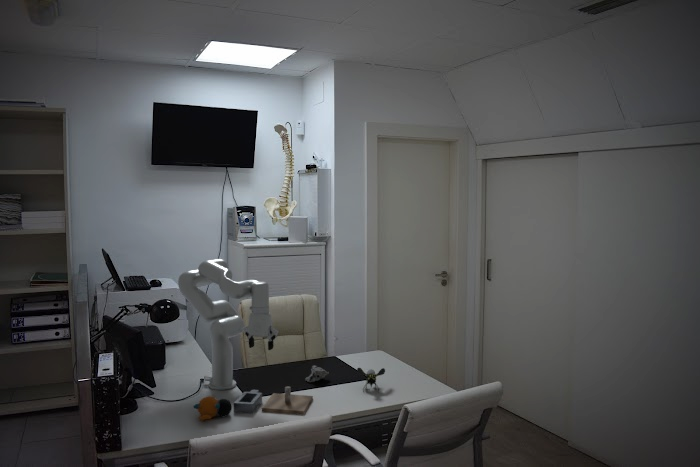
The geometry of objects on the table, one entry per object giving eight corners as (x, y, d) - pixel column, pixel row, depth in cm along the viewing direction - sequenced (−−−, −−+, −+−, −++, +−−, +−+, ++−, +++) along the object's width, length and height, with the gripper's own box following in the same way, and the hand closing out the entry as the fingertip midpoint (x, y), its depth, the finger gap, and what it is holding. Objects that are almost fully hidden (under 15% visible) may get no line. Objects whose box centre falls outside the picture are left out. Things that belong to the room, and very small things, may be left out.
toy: (193, 397, 235) (230, 398, 239) (191, 421, 231) (228, 422, 236) (196, 394, 224) (234, 395, 229) (194, 420, 221) (232, 421, 226)
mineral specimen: (312, 388, 278) (320, 389, 269) (300, 378, 276) (308, 379, 268) (323, 372, 282) (331, 372, 274) (311, 362, 281) (319, 362, 272)
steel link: (252, 413, 234) (252, 404, 234) (233, 412, 236) (233, 402, 235) (264, 399, 250) (264, 390, 250) (246, 397, 251) (246, 389, 251)
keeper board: (261, 411, 237) (261, 392, 236) (273, 396, 254) (273, 378, 253) (303, 414, 234) (304, 395, 234) (312, 399, 251) (312, 381, 250)
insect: (356, 396, 256) (356, 374, 255) (356, 383, 272) (357, 362, 271) (385, 396, 255) (386, 375, 255) (384, 384, 272) (385, 363, 271)
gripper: (238, 310, 249) (239, 348, 251) (273, 313, 243) (273, 352, 244) (248, 307, 256) (249, 344, 258) (281, 309, 250) (282, 348, 251)
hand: (261, 348), depth 251 cm, fingers open, 9 cm apart
